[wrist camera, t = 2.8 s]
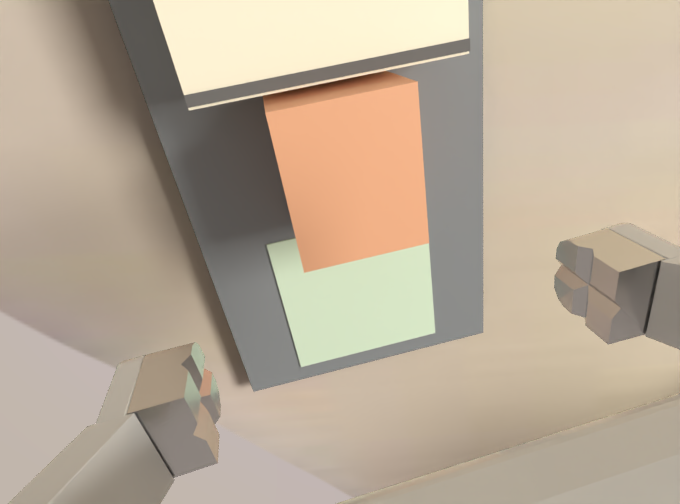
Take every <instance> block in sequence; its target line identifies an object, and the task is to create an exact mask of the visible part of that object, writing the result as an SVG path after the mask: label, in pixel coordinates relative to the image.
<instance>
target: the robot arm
mask: <svg viewBox="0 0 680 504" xmlns="http://www.w3.org/2000/svg"><path fill="white" fill-rule="evenodd" d="M556 259H557V260H558V262H559V263H560V264H561V267H560V268H559V270H558V271H557V273H556V274H555V285H554V288H555V291H556V294H557V297H558V299H559V301H560V302H561V303H562V305H563V306H564V307H565V308H566V309H567V310H568V311H569V312H570V313H572V314H575V315H578V316H581V317H585V325H586V326H587V327H588V328H589V329H590V330H591V331H593V332H594V333H595V334H596V335H597V336H599V337H600V338H601V339H602V340H603V341H605V342H606V343H607V344H612V343H615V342H619V341H622V340H626V339H630V338H633V337H637V336H641V335H644V334H646V337H649V338H652V339H654V340H657V341H659V342H662V343H664V344H667V345H669V346H672V347H674V348H677V349H679V350H680V247H678V246H676V245H674V244H672V243H670V242H668V241H666V240H664V239H662V238H660V237H658V236H656V235H654V234H651V233H649V232H647V231H645V230H643V229H641V228H639V227H637V226H635V225H633V224H631V223H620V224H617V225H614V226H611V227H607V228H604V229H602V230H599V231H596V232H593V233H589V234H586V235H582V236H579V237H575V238H572V239H568V240H565V241H561V242H560V243H559V245H558V247H557V252H556ZM204 361H205V356H204V354H203V352H202V350H201V348H200V346H199V345H198V344H197V343H195V342H194V343H190V344H187V345H183V346H179V347H175V348H171V349H167V350H163V351H159V352H155V353H151V354H148V355H143V356H140V357H136V358H133V359H129V360H125V361H123V362H121V363H120V364H119V365H118V366H117V368H116V371H115V374H114V376H113V379H112V382H111V385H110V387H109V390H108V393H107V395H106V398H105V400H104V403H103V406H102V409H101V411H100V414H99V417H98V419H97V422H96V424H93V425H90V426H87V427H86V428H85V429H84V430H83V431H82V432H81V433H80V434H79V435H78V436H77V437H76V438H75V439H74V440H73V441H72V442H71V443H70V444H69V445H68V446H67V447H66V448H65V449H64V450H63V451H61V452H60V453H59V454H58V455H57V456H56V457H55V458H54V459H53V460H52V461H51V462H50V463H49V464H48V465H47V466H46V467H45V468H44V469H43V470H42V471H41V472H40V473H39V474H38V475H37V476H36V477H35V478H34V479H33V480H32V481H31V482H30V483H29V484H28V485H27V486H25V487H24V488H23V489H22V491H20V492H19V493H18V494H17V495H16V496H15V497H14V498H13V499H12V500H11V501H10V502H9V503H8V504H160V503H161V502H162V500H163V498H164V497H165V495H166V494H167V492H168V490H169V489H170V487H171V485H172V484H173V482H174V477H178V476H181V475H184V474H187V473H189V472H192V471H195V470H198V469H201V468H204V467H208V466H211V465H214V464H217V463H218V449H219V433H218V431H217V428H216V426H215V423H216V422H217V421H218V419H219V418H220V411H221V404H220V397H219V391H218V387H217V384H216V381H215V378H214V376H213V374H212V372H210V371H208V370H206V369H204ZM337 504H680V393H679V394H676V395H673V396H670V397H667V398H663V399H660V400H657V401H654V402H651V403H648V404H645V405H642V406H638V407H635V408H632V409H629V410H626V411H623V412H620V413H617V414H614V415H610V416H607V417H604V418H601V419H598V420H595V421H592V422H589V423H585V424H582V425H579V426H576V427H573V428H570V429H567V430H564V431H561V432H557V433H554V434H551V435H548V436H545V437H542V438H539V439H536V440H533V441H529V442H526V443H523V444H520V445H517V446H514V447H511V448H508V449H504V450H501V451H498V452H495V453H492V454H489V455H486V456H483V457H480V458H476V459H473V460H470V461H467V462H464V463H461V464H458V465H455V466H452V467H448V468H445V469H442V470H439V471H436V472H433V473H430V474H427V475H423V476H420V477H417V478H414V479H411V480H408V481H405V482H402V483H399V484H395V485H392V486H389V487H386V488H383V489H380V490H377V491H374V492H371V493H367V494H364V495H361V496H358V497H355V498H352V499H349V500H346V501H343V502H340V503H337Z"/></svg>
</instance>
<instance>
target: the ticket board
mask: <svg viewBox="0 0 680 504" xmlns="http://www.w3.org/2000/svg"><path fill="white" fill-rule="evenodd" d="M108 1H109V4H110V6H111V9H112V12H113V14H114V17H115V20H116V23H117V25H118V28H119V31H120V33H121V36H122V39H123V41H124V44H125V47H126V49H127V52H128V55H129V58H130V60H131V63H132V66H133V68H134V71H135V74H136V76H137V79H138V82H139V84H140V87H141V90H142V93H143V95H144V98H145V101H146V103H147V106H148V109H149V111H150V114H151V117H152V119H153V122H154V125H155V128H156V130H157V133H158V136H159V138H160V141H161V144H162V146H163V149H164V152H165V154H166V157H167V160H168V163H169V165H170V168H171V171H172V173H173V176H174V179H175V181H176V184H177V187H178V189H179V192H180V195H181V198H182V200H183V203H184V206H185V208H186V211H187V214H188V216H189V219H190V222H191V224H192V227H193V230H194V233H195V235H196V238H197V241H198V243H199V246H200V249H201V251H202V254H203V257H204V259H205V262H206V265H207V268H208V270H209V273H210V276H211V278H212V281H213V284H214V286H215V289H216V292H217V294H218V297H219V300H220V302H221V305H222V308H223V311H224V313H225V316H226V319H227V321H228V324H229V327H230V329H231V332H232V335H233V337H234V340H235V343H236V346H237V348H238V351H239V354H240V356H241V359H242V362H243V364H244V367H245V370H246V372H247V375H248V378H249V381H250V383H251V386H252V389H253V391H258V390H262V389H266V388H270V387H274V386H277V385H281V384H285V383H289V382H293V381H297V380H301V379H305V378H309V377H312V376H316V375H320V374H324V373H328V372H332V371H336V370H340V369H344V368H347V367H351V366H355V365H359V364H363V363H367V362H371V361H375V360H379V359H382V358H386V357H390V356H394V355H398V354H402V353H406V352H410V351H414V350H417V349H421V348H425V347H429V346H433V345H437V344H441V343H445V342H448V341H452V340H456V339H460V338H464V337H468V336H472V335H476V334H480V333H483V0H108ZM382 71H388V72H391V73H394V74H397V75H400V76H403V77H406V78H409V79H412V80H415V81H418V92H419V106H420V120H421V134H422V148H423V162H424V176H425V190H426V204H427V218H428V232H429V243H428V244H423V245H419V246H415V247H411V248H407V249H402V250H398V251H394V252H390V253H385V254H381V255H377V256H373V257H369V258H364V259H360V260H356V261H352V262H348V263H343V264H339V265H335V266H331V267H327V268H322V269H318V270H314V271H310V272H306V273H304V270H303V266H302V262H301V258H300V254H299V250H298V245H297V241H296V237H295V233H294V229H293V225H292V221H291V217H290V213H289V209H288V204H287V200H286V196H285V192H284V188H283V184H282V180H281V176H280V172H279V167H278V163H277V159H276V155H275V151H274V147H273V143H272V139H271V135H270V130H269V126H268V122H267V118H266V114H265V108H264V101H263V95H268V94H273V93H278V92H283V91H288V90H293V89H298V88H303V87H308V86H313V85H318V84H322V83H327V82H332V81H337V80H342V79H347V78H352V77H357V76H362V75H367V74H372V73H377V72H382Z"/></svg>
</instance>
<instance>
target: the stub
mask: <svg viewBox="0 0 680 504" xmlns="http://www.w3.org/2000/svg"><path fill="white" fill-rule="evenodd" d="M263 101H264V108H265V114H266V118H267V122H268V126H269V130H270V135H271V139H272V143H273V147H274V151H275V155H276V159H277V163H278V167H279V172H280V176H281V180H282V184H283V188H284V192H285V196H286V200H287V204H288V209H289V213H290V217H291V221H292V225H293V229H294V233H295V237H296V241H297V245H298V250H299V254H300V258H301V262H302V266H303V270H304V273H306V272H310V271H314V270H318V269H322V268H327V267H331V266H335V265H339V264H343V263H348V262H352V261H356V260H360V259H364V258H369V257H373V256H377V255H381V254H385V253H390V252H394V251H398V250H402V249H407V248H411V247H415V246H419V245H423V244H428V243H429V232H428V218H427V204H426V190H425V176H424V162H423V148H422V134H421V120H420V106H419V92H418V81H415V80H412V79H409V78H406V77H403V76H400V75H397V74H394V73H391V72H388V71H382V72H377V73H372V74H367V75H362V76H357V77H352V78H347V79H342V80H337V81H332V82H327V83H322V84H318V85H313V86H308V87H303V88H298V89H293V90H288V91H283V92H278V93H273V94H268V95H263Z"/></svg>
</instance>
